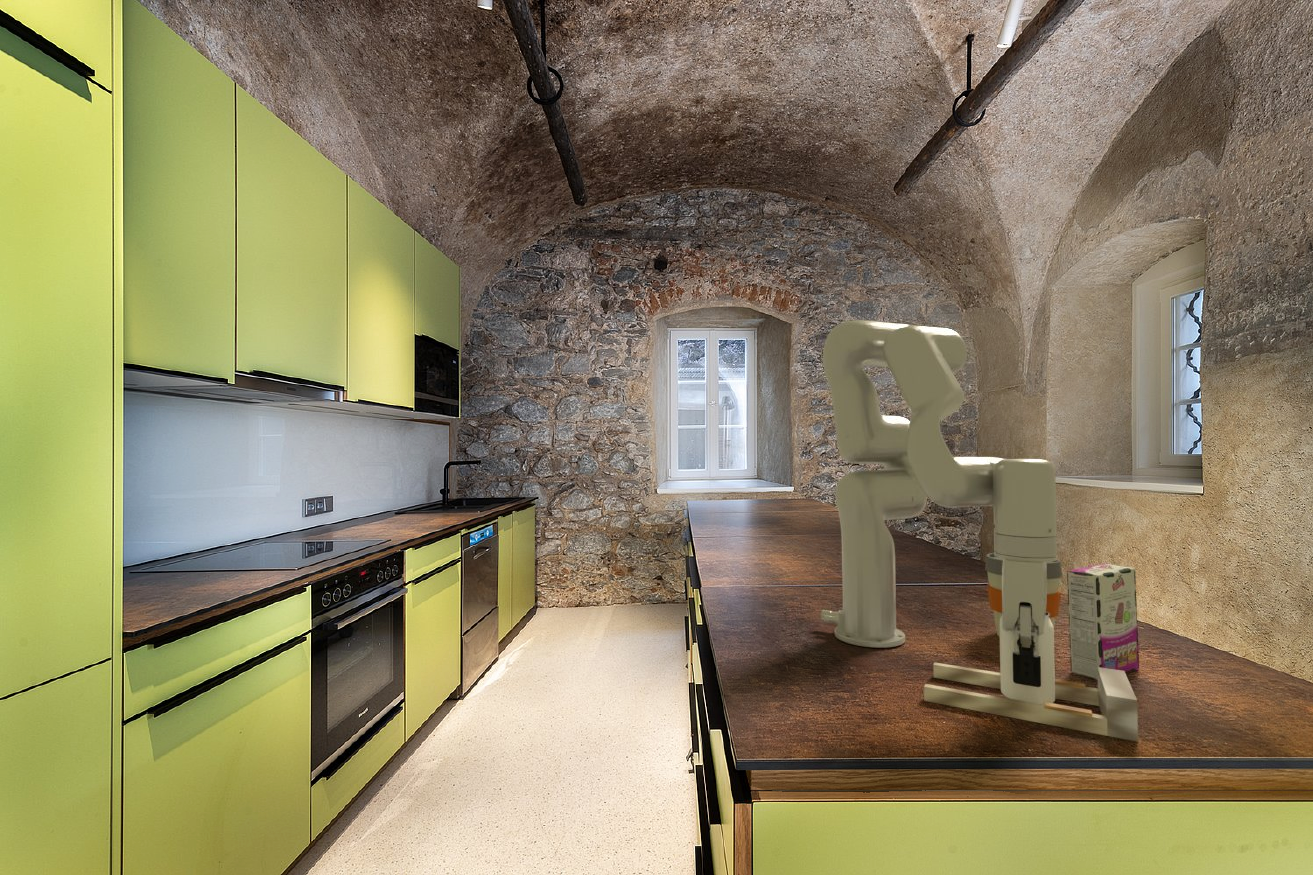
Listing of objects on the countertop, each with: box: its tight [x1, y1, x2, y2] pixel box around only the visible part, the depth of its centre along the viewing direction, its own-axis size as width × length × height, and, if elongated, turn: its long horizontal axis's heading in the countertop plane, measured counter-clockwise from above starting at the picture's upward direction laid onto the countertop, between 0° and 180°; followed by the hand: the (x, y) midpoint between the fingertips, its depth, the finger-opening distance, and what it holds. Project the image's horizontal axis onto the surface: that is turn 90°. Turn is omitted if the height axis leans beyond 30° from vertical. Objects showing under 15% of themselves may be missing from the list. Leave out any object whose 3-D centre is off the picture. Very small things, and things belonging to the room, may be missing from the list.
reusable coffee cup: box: [984, 552, 1063, 638], centre depth 115 cm, size 12×12×15 cm
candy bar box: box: [1066, 563, 1141, 681], centre depth 98 cm, size 11×5×16 cm, turn 117°
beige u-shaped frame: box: [923, 662, 1139, 742], centre depth 85 cm, size 24×11×5 cm, turn 59°
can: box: [999, 608, 1056, 705], centre depth 85 cm, size 6×6×12 cm
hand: (1027, 674), depth 85 cm, fingers closed on can, 6 cm apart
